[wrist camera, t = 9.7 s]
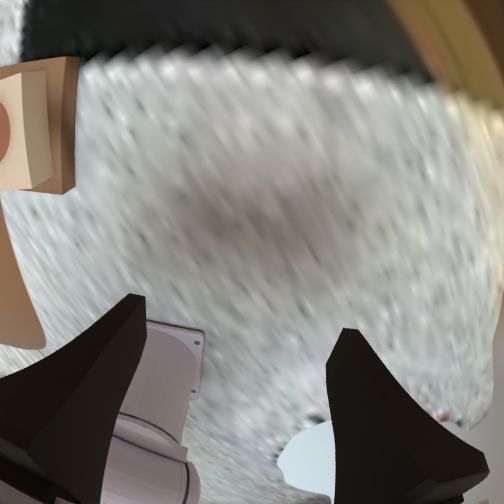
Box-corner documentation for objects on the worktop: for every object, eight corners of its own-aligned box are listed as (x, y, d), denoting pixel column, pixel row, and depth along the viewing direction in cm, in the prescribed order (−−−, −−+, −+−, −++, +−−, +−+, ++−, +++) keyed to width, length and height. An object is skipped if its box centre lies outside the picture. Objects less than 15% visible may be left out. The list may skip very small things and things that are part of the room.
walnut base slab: (80, 182, 20) (62, 194, 18) (-2, 175, 20) (-20, 186, 18) (86, 57, 16) (65, 56, 14) (-2, 70, 15) (-23, 73, 13)
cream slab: (54, 175, 17) (32, 188, 15) (-11, 181, 18) (-32, 194, 15) (46, 70, 14) (21, 72, 12) (-21, 93, 14) (-44, 98, 12)
